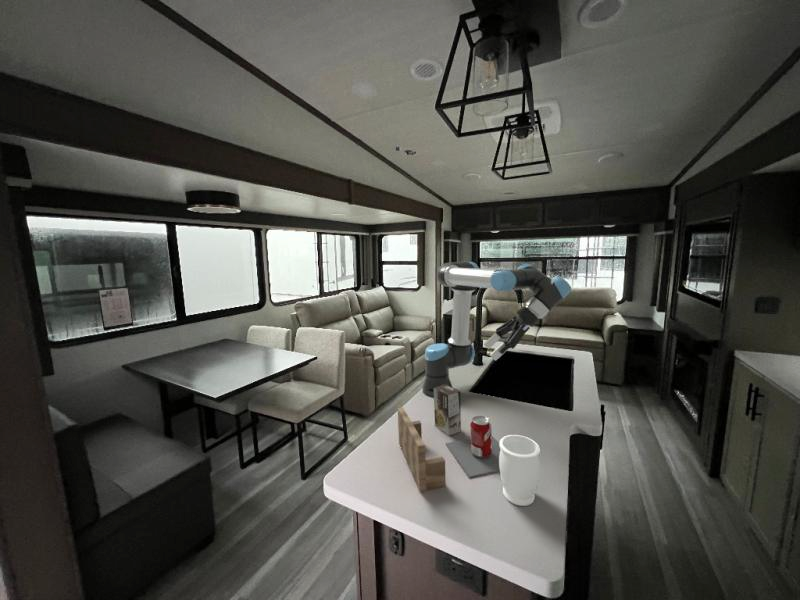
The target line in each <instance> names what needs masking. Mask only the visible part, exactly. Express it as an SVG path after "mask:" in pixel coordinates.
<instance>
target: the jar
mask: <svg viewBox="0 0 800 600" xmlns="http://www.w3.org/2000/svg"><path fill="white" fill-rule="evenodd" d="M498 442H499V446H500V449H501V450H500V455H499V468H500V471H499V474H500V479H501V483H502V485H503V488H502V493H503V497H504V498H505V499H506V500H507V501H508V502H509V503H511V504H513V505H516V506H521V507H524V506H525V507H526V506H530V505H531V504H533V503H534V501H535V498H536V497H535V492H536V490H537V487H538V481H539V477H540V461H539V459H540V458H539V455H540V452H541V451H540V446H539V444H538V443H537V442H536V441H535V440H533V439H532V438H531V437H527V436H525V435H519V434H507V435H505V436H502V437H501V438H500V439H499V441H498Z"/></svg>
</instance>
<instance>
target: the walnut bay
mask: <svg viewBox="0 0 800 600" xmlns="http://www.w3.org/2000/svg"><path fill="white" fill-rule="evenodd" d="M397 427H398V428H397V430H398V446H399V445H400V446H399V448H400V447H401V448H400V451H401V450H402V451H401V452H403V453H402V455H403V454H404V455H403V457H404V459H406V460H405V462H406V461H407V462H406V463H407V466H409V467H408V469H409V471H410V473H411V476H412V478H413V481H414V483H415V485H416V486H417V489H418V492H419V493H422V492H425V491H430V490H435V489H440V488H443V487H446V480H447V479H446V459H445V458H444V457H443V456H438V457H433V458H429V459H426V444H425V443H424V441H423V436H422V433H423V431H422V422H421V421H420V420H415V421H411V419H410V416H409V415H408V414H407V412H406V410H405V409H404V407H398V408H397Z"/></svg>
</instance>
